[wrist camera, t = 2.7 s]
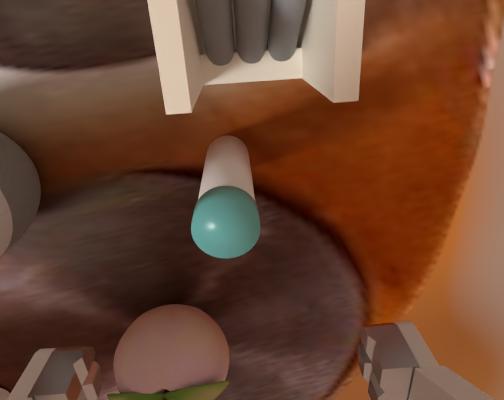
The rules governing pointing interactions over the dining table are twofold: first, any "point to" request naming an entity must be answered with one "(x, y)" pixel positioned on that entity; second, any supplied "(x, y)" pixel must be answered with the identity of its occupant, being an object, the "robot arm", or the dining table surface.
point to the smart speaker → (16, 192)
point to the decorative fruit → (171, 356)
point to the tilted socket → (256, 45)
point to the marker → (226, 201)
